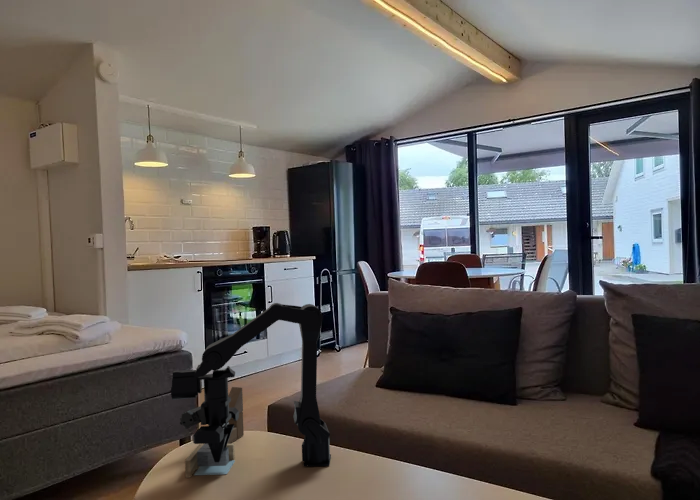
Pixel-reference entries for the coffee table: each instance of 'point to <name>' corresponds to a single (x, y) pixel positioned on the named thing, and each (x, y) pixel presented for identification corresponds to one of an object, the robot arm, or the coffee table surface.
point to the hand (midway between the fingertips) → (218, 459)
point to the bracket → (211, 457)
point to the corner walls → (191, 461)
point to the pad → (214, 469)
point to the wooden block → (238, 404)
